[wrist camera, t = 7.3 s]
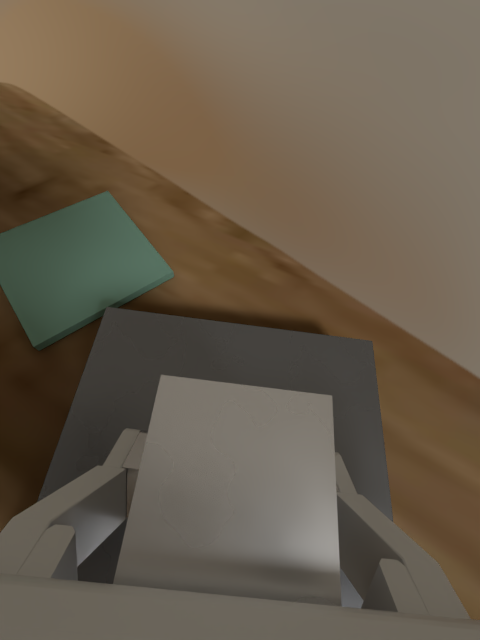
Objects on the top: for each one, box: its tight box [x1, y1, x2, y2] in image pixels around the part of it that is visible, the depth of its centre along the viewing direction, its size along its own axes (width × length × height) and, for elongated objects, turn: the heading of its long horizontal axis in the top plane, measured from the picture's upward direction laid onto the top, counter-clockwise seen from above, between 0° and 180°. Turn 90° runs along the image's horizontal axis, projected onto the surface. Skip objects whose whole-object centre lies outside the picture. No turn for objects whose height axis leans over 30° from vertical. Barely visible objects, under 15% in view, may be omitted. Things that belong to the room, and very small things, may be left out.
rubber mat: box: [0, 191, 174, 351], centre depth 19 cm, size 9×9×1 cm
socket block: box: [37, 307, 393, 608], centre depth 13 cm, size 14×14×3 cm
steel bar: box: [113, 375, 342, 607], centre depth 10 cm, size 4×4×10 cm
